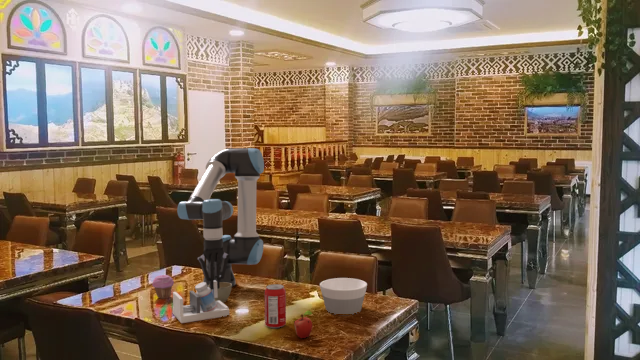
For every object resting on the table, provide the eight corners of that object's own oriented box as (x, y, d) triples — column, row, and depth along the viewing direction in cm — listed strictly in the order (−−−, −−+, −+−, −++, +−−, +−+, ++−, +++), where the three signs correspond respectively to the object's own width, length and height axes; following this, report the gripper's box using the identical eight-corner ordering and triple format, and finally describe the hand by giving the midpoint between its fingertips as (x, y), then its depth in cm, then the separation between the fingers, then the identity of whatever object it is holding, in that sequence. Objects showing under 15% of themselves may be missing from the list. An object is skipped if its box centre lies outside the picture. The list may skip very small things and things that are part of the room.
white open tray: (219, 306, 239) (218, 285, 238) (229, 315, 227) (229, 293, 226) (172, 313, 230) (172, 291, 229) (181, 323, 218) (180, 299, 217)
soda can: (268, 330, 209) (268, 290, 208) (262, 324, 216) (261, 285, 215) (289, 327, 212) (288, 287, 211) (281, 321, 219) (281, 282, 218)
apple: (290, 339, 200) (289, 311, 199) (297, 333, 206) (297, 305, 206) (310, 342, 197) (310, 313, 196) (318, 335, 204) (317, 307, 203)
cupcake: (161, 301, 247) (160, 278, 246) (148, 298, 252) (148, 275, 251) (178, 296, 254) (177, 274, 253) (165, 293, 259) (164, 271, 259)
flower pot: (236, 299, 250) (235, 282, 249) (225, 305, 240) (224, 288, 240) (215, 297, 253) (215, 281, 252) (203, 303, 243) (203, 286, 243)
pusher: (193, 309, 232) (192, 290, 232) (200, 317, 223) (199, 296, 222) (180, 311, 230) (180, 292, 229) (187, 319, 221) (186, 298, 220)
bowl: (342, 300, 247) (342, 275, 246) (377, 309, 233) (377, 283, 232) (309, 310, 233) (309, 283, 233) (344, 320, 220) (344, 292, 219)
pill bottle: (219, 304, 232) (210, 279, 229) (214, 312, 227) (204, 287, 224) (206, 306, 234) (196, 282, 231) (200, 314, 228) (191, 290, 225)
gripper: (225, 235, 235) (227, 292, 236) (194, 238, 229) (196, 297, 230) (231, 238, 228) (233, 296, 230) (200, 241, 222) (201, 301, 224)
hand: (214, 296), depth 230 cm, fingers closed
